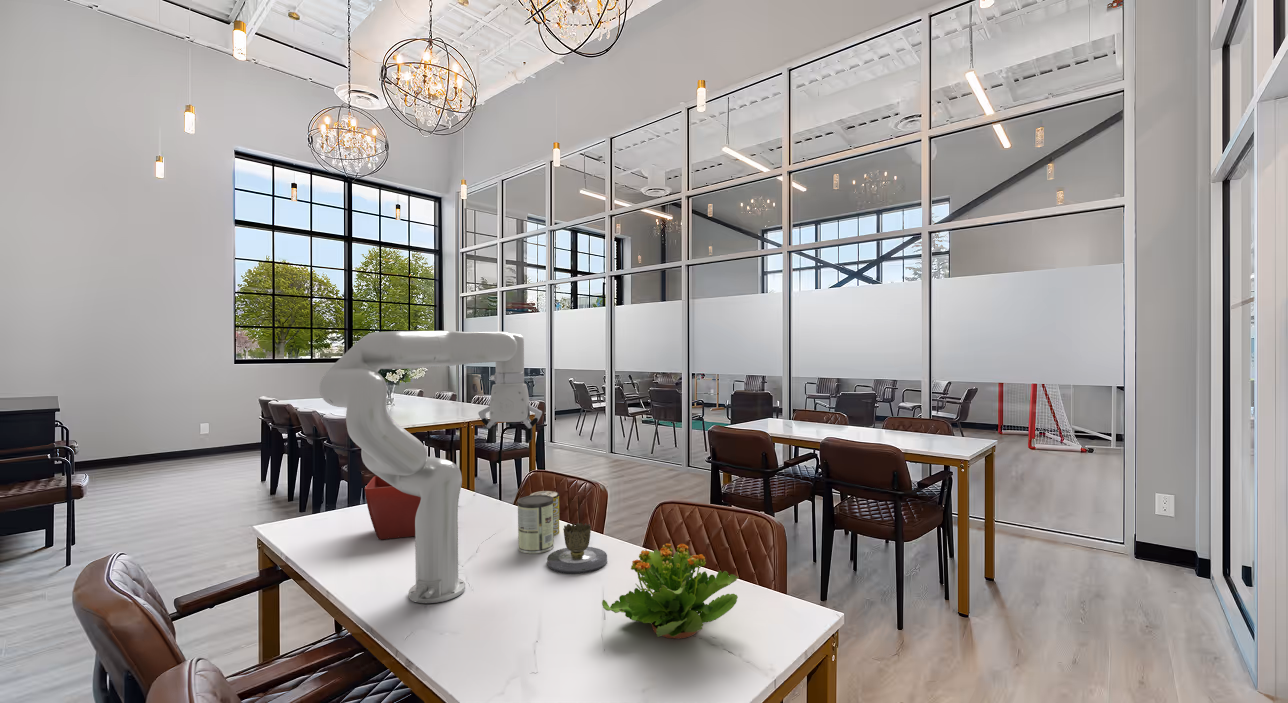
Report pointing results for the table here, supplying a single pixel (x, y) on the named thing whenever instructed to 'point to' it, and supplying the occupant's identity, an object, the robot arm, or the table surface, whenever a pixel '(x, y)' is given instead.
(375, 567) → the table surface
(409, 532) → the plant pot
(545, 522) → the coffee can
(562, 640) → the table surface
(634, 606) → the potted flower
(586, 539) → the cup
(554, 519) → the yellow tin can
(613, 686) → the table surface
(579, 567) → the gray dinner plate
